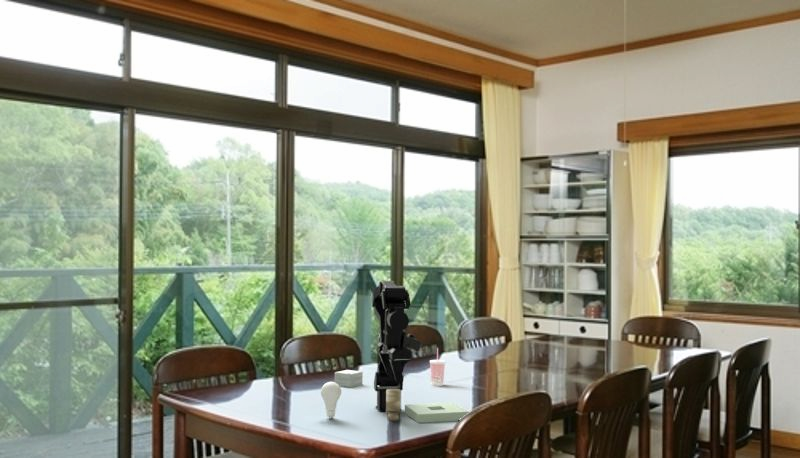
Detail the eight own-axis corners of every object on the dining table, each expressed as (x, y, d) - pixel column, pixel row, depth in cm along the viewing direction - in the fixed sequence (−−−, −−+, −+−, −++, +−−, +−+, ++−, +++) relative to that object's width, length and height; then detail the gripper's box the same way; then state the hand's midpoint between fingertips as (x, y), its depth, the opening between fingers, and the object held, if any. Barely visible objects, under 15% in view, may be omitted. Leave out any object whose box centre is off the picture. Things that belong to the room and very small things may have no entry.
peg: (387, 421, 222) (388, 391, 223) (383, 418, 227) (384, 389, 227) (402, 420, 224) (403, 391, 224) (398, 417, 228) (398, 388, 228)
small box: (346, 382, 287) (346, 369, 287) (362, 384, 283) (363, 371, 283) (333, 385, 281) (334, 372, 281) (350, 388, 276) (350, 374, 276)
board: (418, 422, 221) (418, 414, 221) (404, 412, 235) (404, 404, 235) (468, 419, 226) (468, 411, 226) (452, 410, 239) (452, 402, 239)
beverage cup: (444, 386, 280) (444, 349, 281) (428, 385, 282) (428, 348, 282) (446, 383, 286) (446, 346, 287) (430, 382, 288) (430, 346, 288)
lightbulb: (317, 419, 224) (317, 382, 225) (326, 415, 230) (326, 379, 230) (335, 421, 222) (335, 384, 222) (344, 417, 228) (344, 380, 228)
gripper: (429, 330, 219) (428, 383, 219) (410, 323, 237) (410, 372, 237) (392, 330, 216) (392, 385, 216) (376, 324, 234) (376, 374, 234)
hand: (393, 379), depth 226 cm, fingers open, 9 cm apart
